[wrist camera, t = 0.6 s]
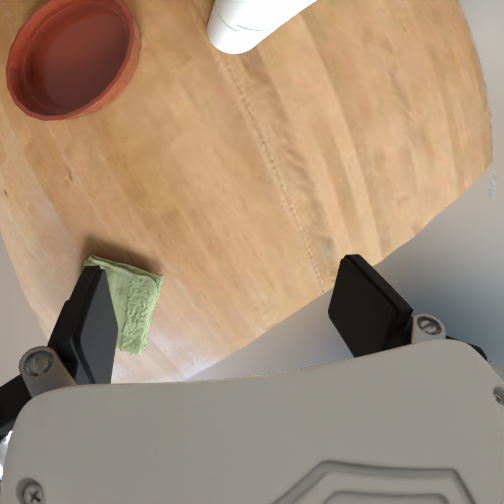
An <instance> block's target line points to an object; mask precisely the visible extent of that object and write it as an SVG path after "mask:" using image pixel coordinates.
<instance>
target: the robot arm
mask: <svg viewBox="0 0 504 504" xmlns="http://www.w3.org/2000/svg"><path fill="white" fill-rule="evenodd" d="M412 312H413V309H412V308H411V307H410V305H409V304H408V303H407V302H406V301H405V300H404V299H403V298H402V297H401V296H400V295H399V294H398V293H397V292H396V291H395V290H394V289H393V288H392V287H391V286H390V285H389V284H388V283H387V282H386V281H385V279H384V278H383V277H381V275H380V274H379V273H377V271H376V270H375V269H374V268H373V267H372V266H371V265H370V264H369V263H368V262H367V261H366V260H365V259H364V258H363V257H361V256H360V255H359V254H353V255H346V256H345V257H344V258H343V259H341V261H340V265H339V270H338V274H337V278H336V282H335V286H334V290H333V294H332V298H331V301H330V305H329V309H328V314H329V318H330V319H331V321H332V323H333V324H334V326H335V327H336V329H337V330H338V332H339V333H340V335H341V337H342V338H343V340H344V341H345V343H346V345H347V346H348V348H349V349H350V351H351V353H352V354H353V356H354V358H352V359H347V360H342V361H338V362H333V363H327V364H322V365H317V366H311V367H306V368H300V369H294V370H288V371H281V372H274V373H267V374H260V375H252V376H243V377H234V378H224V379H213V380H202V381H186V382H165V383H126V384H110V383H111V376H112V369H113V362H114V355H115V349H116V343H117V338H118V323H117V319H116V315H115V311H114V307H113V303H112V298H111V294H110V289H109V285H108V280H107V275H106V271H105V269H101V267H100V266H99V265H92V266H85V267H84V269H83V271H82V273H81V275H80V277H79V279H78V281H77V284H76V286H75V288H74V290H73V292H72V295H71V297H70V299H69V300H67V301H66V302H65V303H64V306H63V308H62V310H61V313H60V315H59V317H58V320H57V322H56V325H55V327H54V329H53V332H52V334H51V337H50V340H49V342H48V345H47V347H46V346H38V347H35V348H32V349H30V350H29V351H27V352H26V353H25V354H24V355H23V356H22V358H21V360H20V362H19V370H20V373H21V374H20V375H18V376H17V377H15V378H14V379H12V380H11V381H9V382H7V383H6V384H4V385H3V386H1V387H0V504H504V369H503V368H501V367H500V366H498V365H496V364H495V363H493V362H491V361H490V362H489V363H488V362H487V357H486V355H485V354H484V352H483V350H482V349H481V348H479V347H477V346H474V345H471V344H469V343H466V342H463V341H460V340H457V339H454V338H451V337H449V336H446V335H445V328H444V325H443V324H442V322H440V321H439V320H438V319H437V318H435V317H433V316H431V315H428V314H418V315H416V316H415V317H414V318H412V317H411V314H412Z"/></svg>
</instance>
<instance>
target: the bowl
mask: <svg viewBox="0 0 504 504" xmlns="http://www.w3.org/2000/svg"><path fill="white" fill-rule="evenodd" d="M140 51H141V37H140V28H139V26H138V24H137V23H136V21H135V19H134V17H133V15H132V14H131V12H130V10H129V8H128V6H127V5H126V3H125V1H124V0H48V1H47V2H46V3H44V4H43V5H42V6H40V7H39V8H38V9H36V10H35V11H34V12H33V13H32V14H31V16H30V17H29V18H28V19H27V20H26V22H25V23H24V24H23V25H22V27H21V28H20V29H19V31H18V33H17V35H16V37H15V39H14V41H13V43H12V45H11V48H10V51H9V56H8V61H7V66H6V77H7V87H8V90H9V92H10V94H11V97H12V99H13V101H14V103H15V104H16V105H17V106H18V107H19V108H20V109H21V110H22V111H23V112H24V113H25V114H26V115H28V116H31V117H34V118H37V119H40V120H43V121H51V120H66V119H73V118H79V117H82V116H85V115H87V114H90V113H93V112H96V111H97V110H99V109H100V108H102V107H103V106H105V105H106V104H108V103H109V102H111V101H112V100H113V99H114V98H115V97H116V96H117V95H118V94H119V93H120V92H121V90H122V89H123V88H124V87H125V86H126V85H127V84H128V82H129V80H130V78H131V76H132V74H133V72H134V71H135V69H136V67H137V65H138V60H139V55H140Z"/></svg>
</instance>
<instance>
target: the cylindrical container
mask: <svg viewBox="0 0 504 504" xmlns="http://www.w3.org/2000/svg"><path fill="white" fill-rule="evenodd" d="M315 1H316V0H215V3H214V6H213V9H212V12H211V15H210V18H209V21H208V25H207V36H208V38H209V40H210V42H211V43H212V44H213V46H215V47H216V48H217V49H219V50H221V51H223V52H226V53H243V52H245V51H248V50H250V49H251V48H253V47H254V46H255V45H256V44H258V43H259V42H260V41H261V40H263V39H264V38H265V37H266V36H268V35H269V34H270V33H271V32H273V31H274V30H275V29H277V28H278V27H279V26H280V25H282V24H283V23H285V22H286V21H287V20H289V19H290V18H291V17H293V16H294V15H296V14H297V13H298V12H300V11H301V10H303V9H304V8H306V7H307V6H309V5H310V4H312V3H313V2H315Z"/></svg>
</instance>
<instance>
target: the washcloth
mask: <svg viewBox="0 0 504 504" xmlns="http://www.w3.org/2000/svg"><path fill="white" fill-rule="evenodd" d="M92 265H99V266H100V267H101V269H105V271H106V275H107V280H108V285H109V289H110V294H111V298H112V303H113V307H114V311H115V315H116V319H117V323H118V338H117V343H116V348H118V349H120V350H121V351H124V352H127V353H130V354H134V355H140V353H142V352H143V350H144V349H145V347H146V345H147V344H146V343H147V340H148V330H149V327H150V326H149V325H150V322H151V318H152V314H153V309H154V307H155V305H156V302H157V300H158V297H159V294H160V288H161V287H162V281H163V275H159V274H154V273H150V272H147V271H145V270H142V269H140V268H137V267H134V266H131V265H128V264H123V263H118V262H115V261H112V260H107V259H104V258H100V257H97V256H95V255H90V256H89V258H88V257H87V259H85V262H84V264H83V266H82V267H83V269H84V267H85V266H92ZM83 269H82V271H83ZM82 271H81V272H82Z"/></svg>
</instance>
